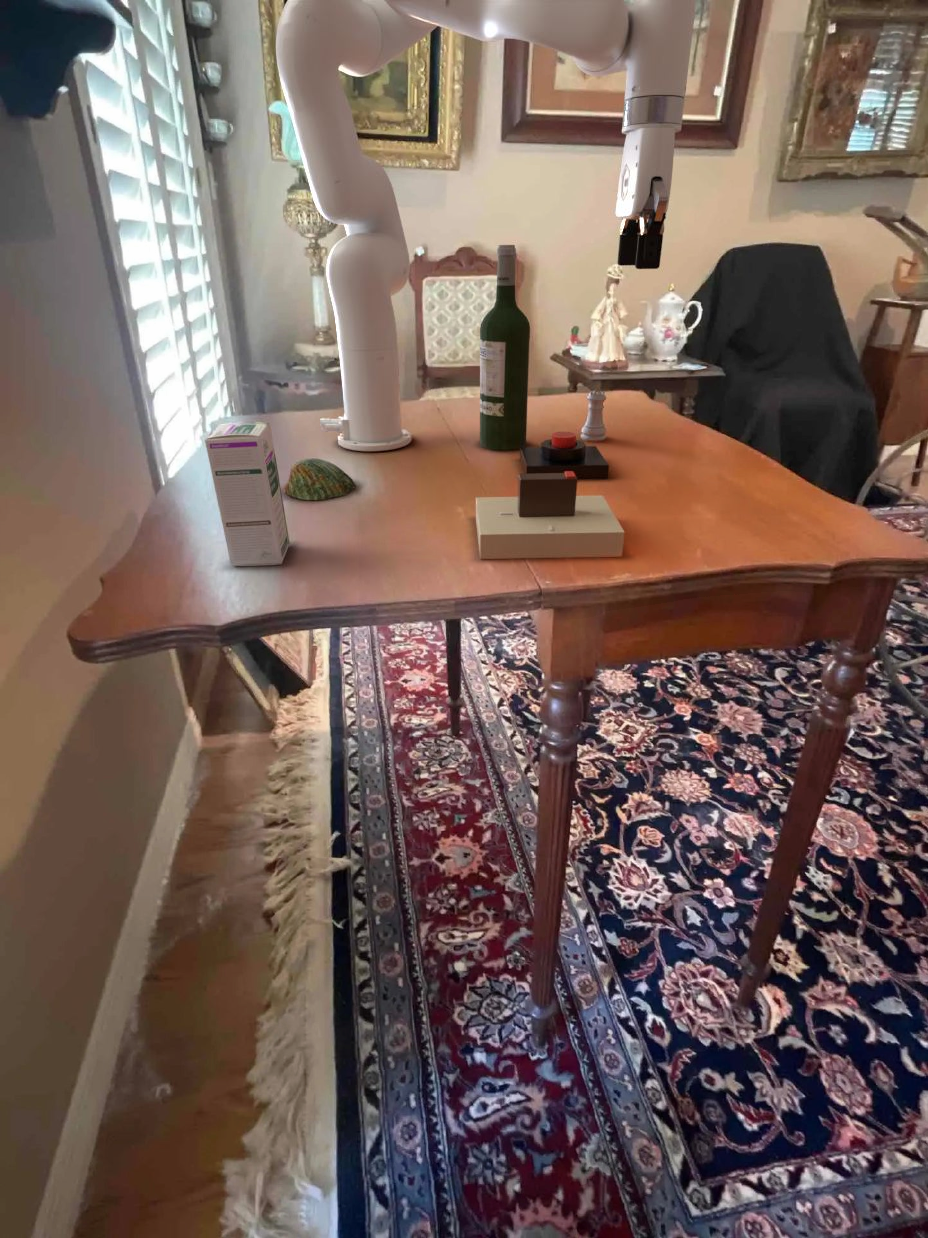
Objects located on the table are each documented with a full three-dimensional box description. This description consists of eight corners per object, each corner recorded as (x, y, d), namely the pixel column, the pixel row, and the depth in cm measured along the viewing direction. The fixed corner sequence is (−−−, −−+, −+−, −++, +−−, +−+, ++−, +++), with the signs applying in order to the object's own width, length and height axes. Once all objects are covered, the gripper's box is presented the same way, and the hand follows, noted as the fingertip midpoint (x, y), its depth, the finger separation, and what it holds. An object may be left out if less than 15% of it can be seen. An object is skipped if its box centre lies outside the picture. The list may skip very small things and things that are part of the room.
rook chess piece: (607, 442, 118) (612, 394, 114) (581, 442, 118) (585, 394, 114) (603, 435, 122) (608, 389, 118) (578, 435, 122) (582, 389, 118)
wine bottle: (470, 444, 118) (469, 245, 103) (503, 436, 122) (507, 243, 107) (502, 454, 113) (506, 245, 98) (535, 445, 117) (544, 244, 102)
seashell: (306, 474, 91) (266, 459, 97) (308, 504, 92) (269, 488, 99) (367, 464, 97) (326, 450, 103) (368, 492, 99) (327, 477, 105)
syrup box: (283, 565, 76) (263, 434, 69) (228, 567, 76) (203, 435, 69) (290, 544, 81) (272, 420, 74) (239, 546, 81) (216, 421, 74)
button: (553, 449, 102) (553, 438, 101) (549, 443, 105) (550, 431, 104) (577, 449, 102) (578, 437, 101) (573, 442, 105) (574, 431, 104)
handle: (519, 517, 80) (520, 477, 78) (517, 510, 82) (518, 471, 80) (574, 516, 80) (577, 476, 78) (571, 509, 82) (574, 470, 80)
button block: (526, 480, 101) (527, 453, 99) (519, 460, 110) (520, 435, 108) (607, 479, 101) (610, 452, 99) (594, 459, 110) (596, 434, 108)
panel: (480, 559, 77) (480, 533, 76) (475, 519, 88) (475, 495, 86) (621, 556, 78) (624, 530, 76) (600, 517, 88) (603, 493, 87)
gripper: (608, 126, 96) (597, 264, 105) (642, 108, 81) (626, 270, 90) (661, 126, 97) (646, 263, 105) (704, 107, 82) (683, 269, 90)
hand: (637, 266), depth 97 cm, fingers open, 9 cm apart
